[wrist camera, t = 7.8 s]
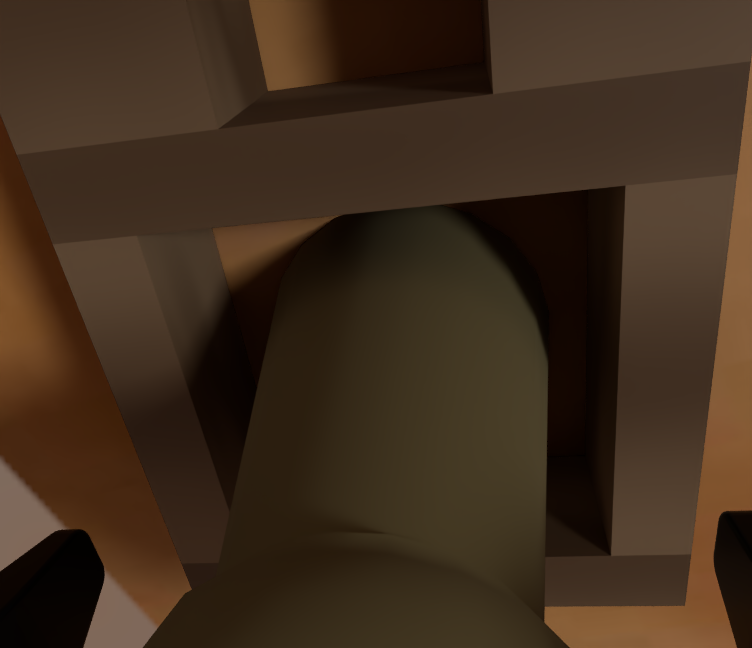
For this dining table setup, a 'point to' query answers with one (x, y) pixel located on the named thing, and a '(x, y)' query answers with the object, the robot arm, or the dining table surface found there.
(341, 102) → the hole block
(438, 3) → the dining table surface
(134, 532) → the dining table surface
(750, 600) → the robot arm
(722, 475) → the dining table surface
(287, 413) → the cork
